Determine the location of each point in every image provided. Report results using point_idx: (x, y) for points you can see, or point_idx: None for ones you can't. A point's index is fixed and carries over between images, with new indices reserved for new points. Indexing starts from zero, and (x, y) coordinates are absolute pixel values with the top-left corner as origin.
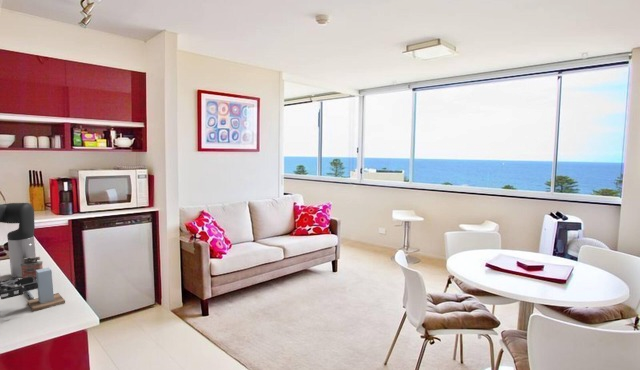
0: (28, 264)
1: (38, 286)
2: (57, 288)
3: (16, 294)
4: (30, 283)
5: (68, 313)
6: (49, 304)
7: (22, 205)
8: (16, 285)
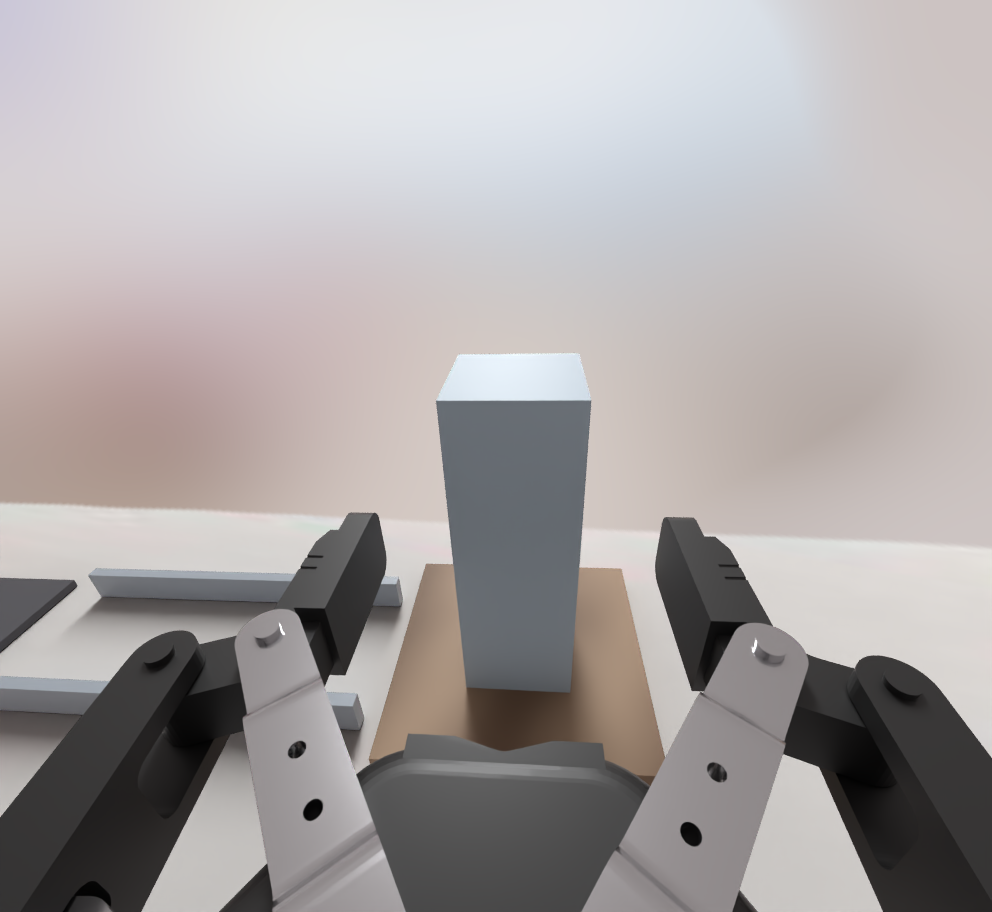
0: None
1: (529, 567)
2: (287, 556)
3: (909, 835)
4: None
5: (858, 612)
6: (636, 650)
7: None
8: (730, 709)
